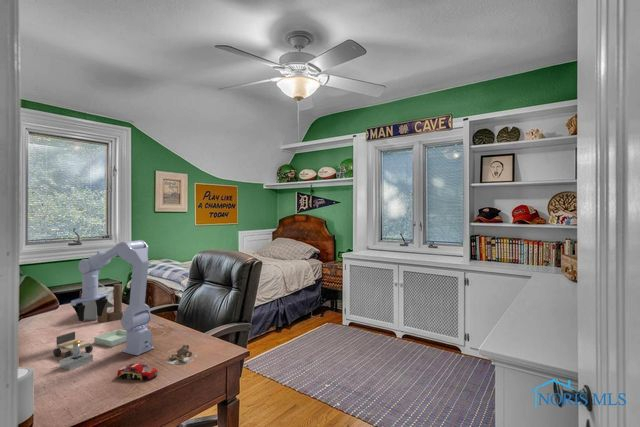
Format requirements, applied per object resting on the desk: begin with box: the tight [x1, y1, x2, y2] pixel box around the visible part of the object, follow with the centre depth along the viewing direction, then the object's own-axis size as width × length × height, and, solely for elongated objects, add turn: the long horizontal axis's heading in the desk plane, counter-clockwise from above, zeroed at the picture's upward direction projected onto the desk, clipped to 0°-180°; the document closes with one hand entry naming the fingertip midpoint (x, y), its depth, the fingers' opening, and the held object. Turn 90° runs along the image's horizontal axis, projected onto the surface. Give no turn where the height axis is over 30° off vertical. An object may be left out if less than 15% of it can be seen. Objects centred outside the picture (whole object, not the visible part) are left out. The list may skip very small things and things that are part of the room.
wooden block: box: [96, 283, 124, 324], centre depth 176 cm, size 4×11×18 cm, turn 134°
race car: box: [116, 363, 158, 381], centre depth 118 cm, size 13×5×4 cm, turn 82°
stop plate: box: [59, 351, 94, 371], centre depth 127 cm, size 6×8×2 cm
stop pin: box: [72, 340, 81, 360], centre depth 127 cm, size 2×2×8 cm
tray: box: [94, 328, 126, 348], centre depth 150 cm, size 11×11×2 cm
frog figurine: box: [166, 344, 198, 365], centre depth 133 cm, size 12×12×4 cm
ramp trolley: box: [52, 331, 94, 358], centre depth 136 cm, size 10×9×7 cm
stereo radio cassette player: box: [80, 282, 114, 322], centre depth 185 cm, size 21×8×20 cm, turn 10°
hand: (90, 318), depth 148 cm, fingers open, 7 cm apart
